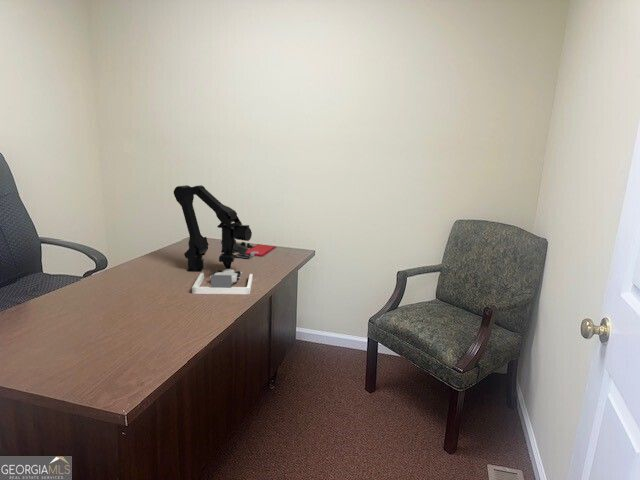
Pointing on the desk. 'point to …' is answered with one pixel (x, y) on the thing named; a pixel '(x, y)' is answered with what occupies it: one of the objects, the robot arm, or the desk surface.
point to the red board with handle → (257, 251)
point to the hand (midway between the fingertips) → (228, 271)
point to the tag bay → (220, 285)
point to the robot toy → (230, 272)
